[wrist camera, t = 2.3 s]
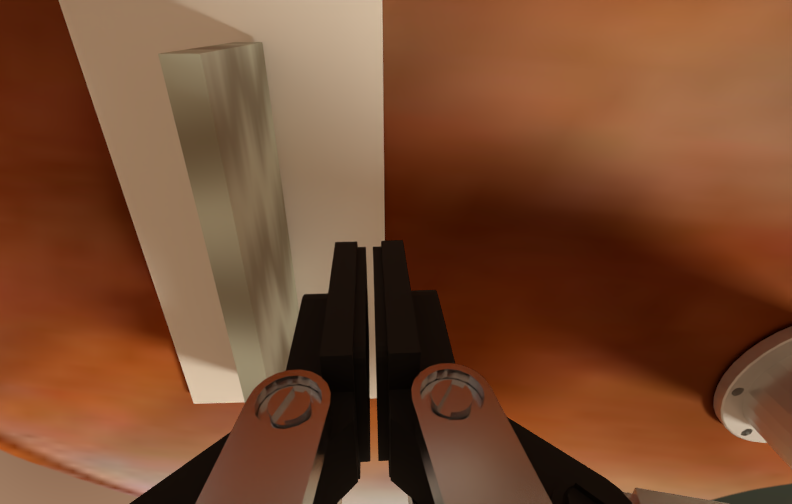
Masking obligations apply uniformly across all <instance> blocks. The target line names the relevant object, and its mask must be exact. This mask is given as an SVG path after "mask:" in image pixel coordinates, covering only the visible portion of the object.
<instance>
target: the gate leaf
mask: <svg viewBox="0 0 792 504" xmlns="http://www.w3.org/2000/svg"><path fill="white" fill-rule="evenodd" d="M158 56H159V60H160V64H161V68H162V72H163V76H164V80H165V84H166V88H167V92H168V96H169V100H170V104H171V108H172V112H173V116H174V120H175V124H176V128H177V132H178V136H179V140H180V144H181V148H182V152H183V156H184V160H185V164H186V168H187V172H188V176H189V180H190V184H191V188H192V192H193V196H194V200H195V204H196V208H197V212H198V216H199V220H200V224H201V228H202V232H203V236H204V240H205V244H206V248H207V252H208V256H209V260H210V264H211V268H212V272H213V276H214V280H215V284H216V288H217V292H218V296H219V300H220V305H221V309H222V313H223V317H224V321H225V325H226V329H227V333H228V337H229V341H230V345H231V349H232V353H233V357H234V361H235V365H236V369H237V373H238V377H239V381H240V385H241V389H242V393H243V397H244V401H245V403H246V401H247V399H248V397H249V395H250V394H251V393H252V391H253V390H254V388H255V387H256V386H257V385H259V384H260V383H261V382H262V381H263V380H264V379H266V378H268V377H270V376H272V375H274V374H276V373H279V372H283V371H286V367H287V363H288V358H289V354H290V349H291V345H292V341H293V336H294V332H295V327H296V323H297V318H298V314H299V306H298V299H297V292H296V285H295V277H294V270H293V263H292V255H291V248H290V241H289V233H288V226H287V219H286V211H285V204H284V197H283V189H282V182H281V175H280V168H279V160H278V153H277V146H276V138H275V131H274V124H273V116H272V109H271V102H270V94H269V87H268V80H267V73H266V65H265V58H264V51H263V43H262V42H232V43H226V44H219V45H212V46H206V47H199V48H192V49H186V50H179V51H172V52H166V53H159V54H158Z"/></svg>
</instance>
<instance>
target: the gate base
mask: <svg viewBox="0 0 792 504" xmlns="http://www.w3.org/2000/svg"><path fill="white" fill-rule="evenodd" d="M59 3H60V6H61V9H62V12H63V15H64V18H65V21H66V24H67V27H68V30H69V33H70V36H71V39H72V42H73V45H74V48H75V51H76V54H77V57H78V60H79V63H80V66H81V69H82V72H83V75H84V78H85V81H86V84H87V87H88V90H89V93H90V96H91V99H92V102H93V105H94V108H95V111H96V114H97V117H98V120H99V123H100V126H101V128H102V131H103V134H104V137H105V140H106V143H107V146H108V149H109V152H110V155H111V158H112V161H113V164H114V167H115V170H116V173H117V176H118V179H119V182H120V185H121V188H122V191H123V194H124V197H125V200H126V203H127V206H128V209H129V212H130V215H131V218H132V221H133V224H134V227H135V230H136V233H137V236H138V239H139V242H140V245H141V248H142V251H143V254H144V257H145V260H146V263H147V266H148V268H149V271H150V274H151V277H152V280H153V283H154V286H155V289H156V292H157V295H158V298H159V301H160V304H161V307H162V310H163V313H164V316H165V319H166V322H167V325H168V328H169V331H170V334H171V337H172V340H173V343H174V346H175V349H176V352H177V355H178V358H179V361H180V364H181V367H182V370H183V373H184V376H185V379H186V382H187V385H188V388H189V391H190V394H191V397H192V400H193V403H194V404H199V403H233V402H245V401H244V397H243V393H242V389H241V385H240V381H239V377H238V373H237V369H236V365H235V361H234V357H233V353H232V349H231V345H230V341H229V337H228V333H227V329H226V325H225V321H224V317H223V313H222V309H221V305H220V300H219V296H218V292H217V288H216V284H215V280H214V276H213V272H212V268H211V264H210V260H209V256H208V252H207V248H206V244H205V240H204V236H203V232H202V228H201V224H200V220H199V216H198V212H197V208H196V204H195V200H194V196H193V192H192V188H191V184H190V180H189V176H188V172H187V168H186V164H185V160H184V156H183V152H182V148H181V144H180V140H179V136H178V132H177V128H176V124H175V120H174V116H173V112H172V108H171V104H170V100H169V96H168V92H167V88H166V84H165V80H164V76H163V72H162V68H161V64H160V60H159V56H158V54H159V53H166V52H172V51H179V50H186V49H192V48H199V47H206V46H212V45H219V44H226V43H232V42H262V43H263V51H264V58H265V65H266V73H267V80H268V87H269V94H270V102H271V109H272V116H273V124H274V131H275V138H276V146H277V153H278V160H279V168H280V175H281V182H282V189H283V197H284V204H285V211H286V219H287V226H288V233H289V241H290V248H291V255H292V263H293V270H294V277H295V285H296V292H297V299H298V306H299V310H300V305H301V301H302V297H303V295H304V294H325V293H328V290H329V283H330V276H331V268H332V261H333V254H334V247H335V242H355V241H357V244H358V247H366V263H367V290H368V318H369V371H370V398H377V383H376V347H375V310H374V273H373V247H380V246H381V241H385V208H384V115H383V21H382V0H59Z"/></svg>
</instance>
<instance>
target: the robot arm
mask: <svg viewBox="0 0 792 504" xmlns="http://www.w3.org/2000/svg"><path fill="white" fill-rule="evenodd" d="M373 273H374V310H375V347H376V383H377V420H378V457H379V461H387V460H389V477H391V481H392V482H394V483H395V484H396V485H397V486H398V487H399V488H400V489H402V490H403V491H404V492H405V493H406V494H407V495H408V503H409V504H728V503H722V502H716V501H711V500H705V499H699V498H693V497H687V496H681V495H675V494H669V493H663V492H657V491H651V490H646V489H640V488H635V489H634V491H633V494H631V493H625V492H622V491H621V490H620V489H619V488H618V487H616V486H615V485H614V484H613V483H611V482H610V481H609V480H607V479H606V478H604V477H603V476H601V475H599V474H598V473H596V472H595V471H593V470H591V469H590V468H588V467H587V466H585V465H583V464H582V463H580V462H579V461H577V460H575V459H574V458H572V457H570V456H569V455H567V454H566V453H564V452H562V451H561V450H559V449H558V448H556V447H554V446H553V445H551V444H550V443H548V442H546V441H545V440H543V439H541V438H540V437H538V436H537V435H535V434H533V433H532V432H530V431H529V430H527V429H525V428H524V427H522V426H521V425H519V424H517V423H516V422H514V421H512V420H511V419H509V418H508V417H506V415H505V413H504V411H503V409H502V407H501V406H500V404H499V402H498V400H497V398H496V396H495V394H494V392H493V390H492V388H491V387H490V385H489V384H488V383H487V381H486V380H485V378H484V377H483V376H481V375H480V374H479V373H477V372H476V371H475V370H473V369H470V368H468V367H466V366H464V365H459V364H455V361H454V357H453V353H452V349H451V345H450V341H449V337H448V333H447V329H446V325H445V321H444V317H443V314H442V310H441V306H440V302H439V298H438V294H437V291H436V290H418V291H411V288H410V282H409V276H408V270H407V263H406V257H405V251H404V245H403V240H394V241H381V246H380V247H373ZM713 407H714V410H715V414H716V416H717V417H718V419H719V420H720V422H721V423H722V424H723V425H724V426H725V427H726V428H727V429H728V430H729V431H730V432H731V433H732V434H733V435H735V436H737V437H739V438H742V439H745V440H749V441H754V442H763V443H768V444H769V445H770V446H771V447H772V448H773V449H774V450H775V452H776V453H777V454H778V455H779V456H780V457H781V458H782V459H783V460H784V461H785V462H786V463H787V465H788V466H789V467H790V468H791V469H792V326H791V327H788V328H786V329H783V330H781V331H779V332H776V333H775V334H773V335H771V336H769V337H767V338H766V339H764V340H762V341H760V342H759V343H757V344H756V345H755V346H753V347H752V348H750V349H749V350H747V351H746V352H745V353H744V354H743V355H742V356H740V357H739V358H738V359H737V360H736V361H735V362H734V363H733V364H732V365H731V366H730V368H729V369H728V370H727V371H726V372H725V374H724V375H723V377H722V379H721V380H720V382H719V384H718V386H717V389H716V392H715V395H714V403H713ZM368 461H370V371H369V318H368V290H367V263H366V247H358V244H357V241H355V242H335V247H334V254H333V261H332V268H331V276H330V283H329V290H328V293H325V294H304V295H303V297H302V301H301V305H300V310H299V314H298V318H297V323H296V327H295V332H294V336H293V341H292V345H291V349H290V354H289V358H288V363H287V367H286V371H283V372H279V373H276V374H274V375H272V376H270V377H268V378H266V379H264V380H263V381H262V382H261V383H260V384H259V385H257V386H256V387H255V388H254V390H253V391H252V393H251V394H250V395H249V397H248V399H247V401H246V403H245V405H244V407H243V409H242V411H241V413H240V415H239V417H238V419H237V421H236V423H235V425H234V427H233V429H232V431H231V432H230V433H229V434H227V435H226V436H224V437H223V438H222V439H220V440H219V441H217V442H216V443H215V444H213V445H212V446H210V447H209V448H207V449H206V450H205V451H203V452H202V453H200V454H199V455H198V456H196V457H195V458H193V459H192V460H191V461H189V462H188V463H186V464H185V465H183V466H182V467H181V468H179V469H178V470H176V471H175V472H174V473H172V474H171V475H169V476H168V477H167V478H165V479H164V480H162V481H161V482H159V483H158V484H157V485H155V486H154V487H152V488H151V489H150V490H148V491H147V492H145V493H144V494H143V495H141V496H140V497H138V498H137V499H136V500H134V501H133V502H131V503H130V504H342V498H343V497H344V496H345V495H346V494H347V493H348V492H349V491H350V490H351V489H352V488H353V487H354V485H355V484H356V483H357V482H358V479H360V462H368Z"/></svg>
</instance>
